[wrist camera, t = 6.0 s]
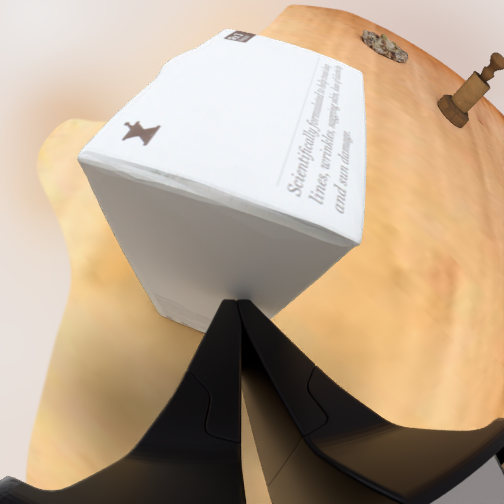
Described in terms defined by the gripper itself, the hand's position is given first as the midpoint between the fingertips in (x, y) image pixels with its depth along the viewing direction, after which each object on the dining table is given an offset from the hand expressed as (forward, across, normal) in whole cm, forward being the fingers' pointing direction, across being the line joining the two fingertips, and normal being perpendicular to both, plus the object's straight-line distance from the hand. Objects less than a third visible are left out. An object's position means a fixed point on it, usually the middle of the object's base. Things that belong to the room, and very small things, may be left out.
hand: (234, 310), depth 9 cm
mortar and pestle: (+32, -40, -16) cm, 54 cm away
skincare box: (+10, 0, +5) cm, 11 cm away
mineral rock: (+43, -30, -26) cm, 59 cm away
